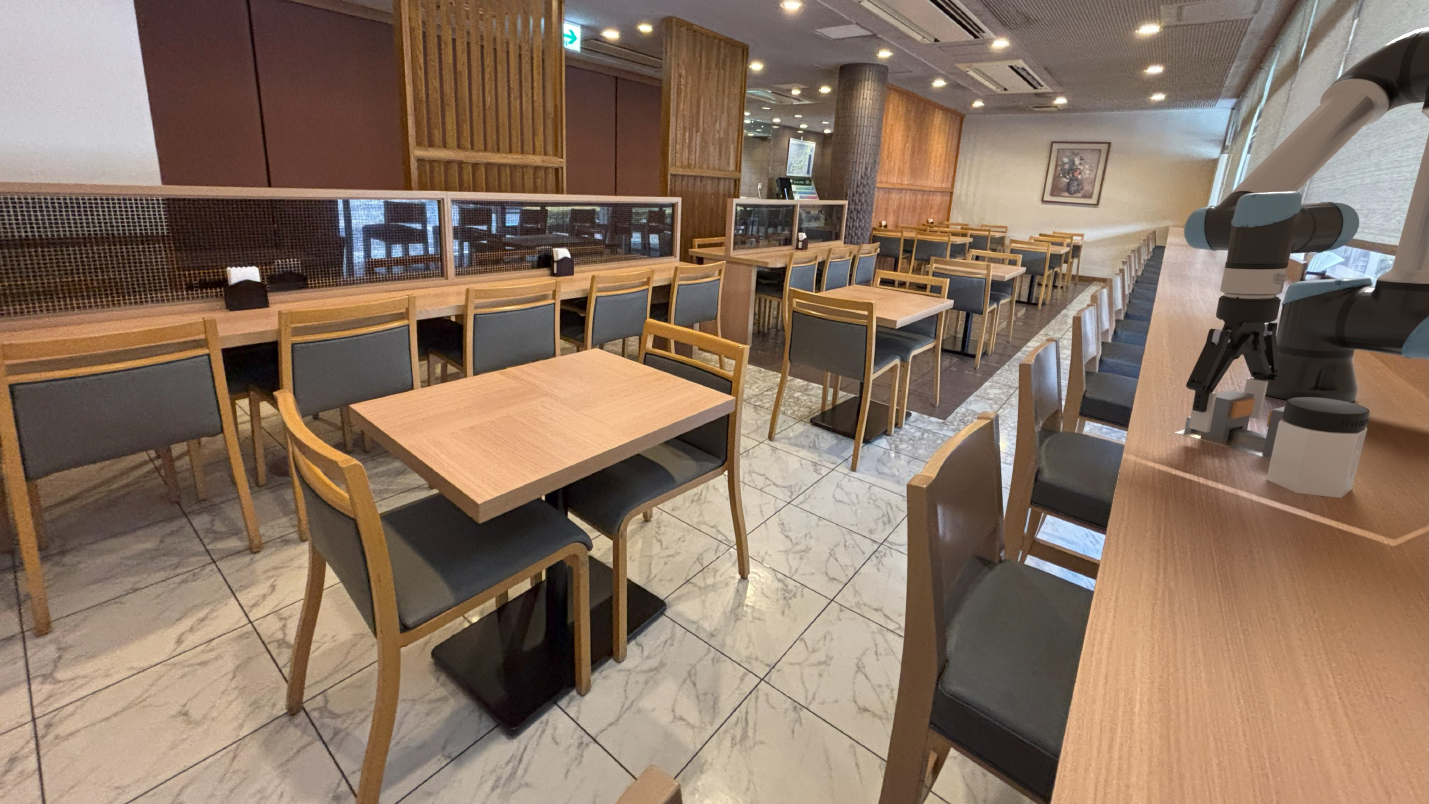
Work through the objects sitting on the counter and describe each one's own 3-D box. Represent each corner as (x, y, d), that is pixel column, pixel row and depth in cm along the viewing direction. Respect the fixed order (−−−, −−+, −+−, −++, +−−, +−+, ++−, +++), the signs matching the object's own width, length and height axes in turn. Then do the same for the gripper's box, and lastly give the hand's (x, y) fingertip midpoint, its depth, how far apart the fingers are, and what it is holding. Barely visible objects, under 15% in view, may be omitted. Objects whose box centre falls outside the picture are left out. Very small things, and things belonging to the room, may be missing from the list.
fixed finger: (1311, 452, 96) (1322, 408, 94) (1287, 460, 94) (1297, 414, 92) (1281, 445, 100) (1291, 402, 98) (1257, 452, 97) (1266, 408, 95)
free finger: (1200, 436, 105) (1208, 395, 103) (1224, 430, 107) (1232, 389, 105) (1226, 443, 101) (1235, 401, 99) (1250, 436, 103) (1259, 395, 101)
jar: (1337, 507, 81) (1359, 419, 77) (1258, 487, 87) (1275, 405, 84) (1357, 488, 85) (1379, 405, 82) (1281, 471, 92) (1298, 393, 88)
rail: (1206, 427, 111) (1209, 411, 110) (1352, 464, 93) (1357, 445, 92) (1173, 435, 107) (1176, 419, 107) (1318, 475, 90) (1322, 456, 89)
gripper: (1227, 305, 90) (1201, 442, 96) (1324, 290, 99) (1296, 417, 105) (1173, 300, 97) (1152, 429, 103) (1269, 286, 106) (1245, 406, 112)
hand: (1225, 423), depth 104 cm, fingers open, 13 cm apart
